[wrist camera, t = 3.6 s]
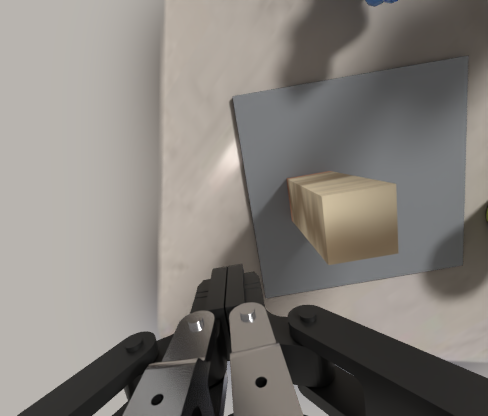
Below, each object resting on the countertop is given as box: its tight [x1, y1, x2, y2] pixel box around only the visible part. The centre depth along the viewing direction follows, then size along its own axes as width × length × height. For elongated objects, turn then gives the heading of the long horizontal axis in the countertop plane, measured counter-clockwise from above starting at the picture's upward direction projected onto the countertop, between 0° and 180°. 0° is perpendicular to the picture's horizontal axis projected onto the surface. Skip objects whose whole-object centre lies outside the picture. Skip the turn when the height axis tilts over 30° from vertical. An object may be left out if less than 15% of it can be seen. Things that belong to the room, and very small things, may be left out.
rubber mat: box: [233, 56, 468, 298], centre depth 29 cm, size 24×25×1 cm
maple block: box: [286, 171, 399, 265], centre depth 23 cm, size 5×5×12 cm
